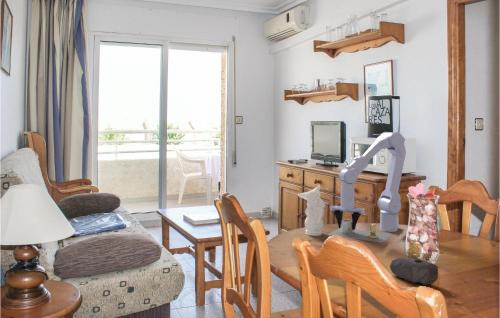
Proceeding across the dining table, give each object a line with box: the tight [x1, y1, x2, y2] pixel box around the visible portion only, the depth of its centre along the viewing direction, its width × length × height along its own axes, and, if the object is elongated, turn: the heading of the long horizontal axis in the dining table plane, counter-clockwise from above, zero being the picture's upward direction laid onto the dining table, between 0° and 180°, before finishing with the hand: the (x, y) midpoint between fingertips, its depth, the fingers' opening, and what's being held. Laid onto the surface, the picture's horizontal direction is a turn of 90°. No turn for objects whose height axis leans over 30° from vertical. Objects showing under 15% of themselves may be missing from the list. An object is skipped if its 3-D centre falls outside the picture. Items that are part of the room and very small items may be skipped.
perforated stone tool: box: [389, 257, 439, 286], centre depth 131 cm, size 15×5×7 cm, turn 36°
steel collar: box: [340, 218, 354, 234], centre depth 186 cm, size 5×5×5 cm
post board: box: [327, 224, 393, 243], centre depth 182 cm, size 16×23×6 cm
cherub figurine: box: [297, 183, 326, 237], centre depth 185 cm, size 12×12×22 cm
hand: (346, 228), depth 186 cm, fingers closed on steel collar, 5 cm apart
